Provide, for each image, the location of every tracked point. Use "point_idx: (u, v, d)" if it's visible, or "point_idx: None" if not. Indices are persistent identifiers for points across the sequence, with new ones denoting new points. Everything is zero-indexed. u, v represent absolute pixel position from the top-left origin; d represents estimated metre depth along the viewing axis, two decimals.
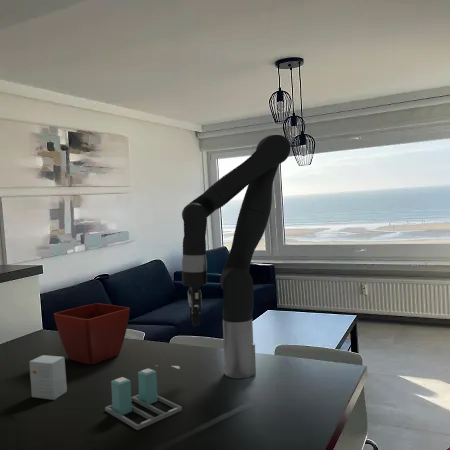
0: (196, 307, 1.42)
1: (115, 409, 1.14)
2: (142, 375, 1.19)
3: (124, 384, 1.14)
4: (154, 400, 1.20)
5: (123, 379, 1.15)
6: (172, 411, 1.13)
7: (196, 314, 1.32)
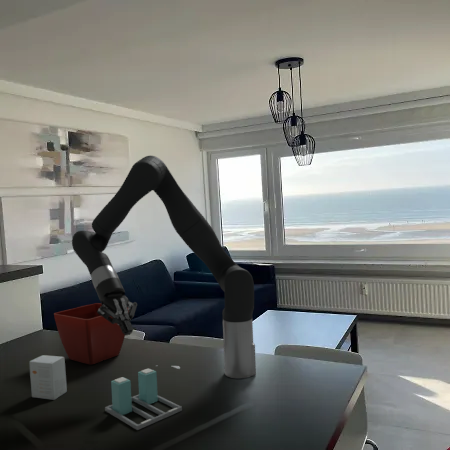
0: None
1: (115, 409, 1.14)
2: (142, 375, 1.19)
3: (124, 384, 1.14)
4: (154, 400, 1.20)
5: (123, 379, 1.15)
6: (172, 411, 1.13)
7: None
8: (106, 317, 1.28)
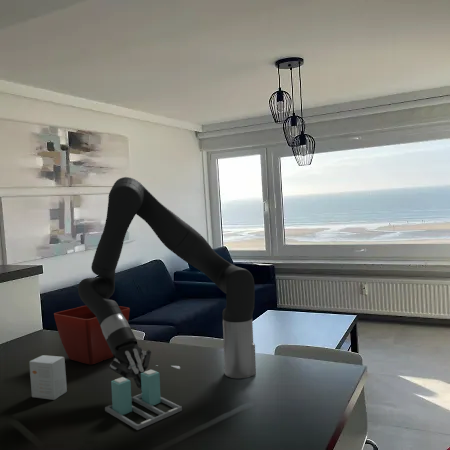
0: None
1: (115, 409, 1.14)
2: (145, 376, 1.18)
3: (124, 384, 1.14)
4: (157, 401, 1.19)
5: (123, 379, 1.15)
6: (172, 411, 1.13)
7: None
8: (119, 372, 1.21)
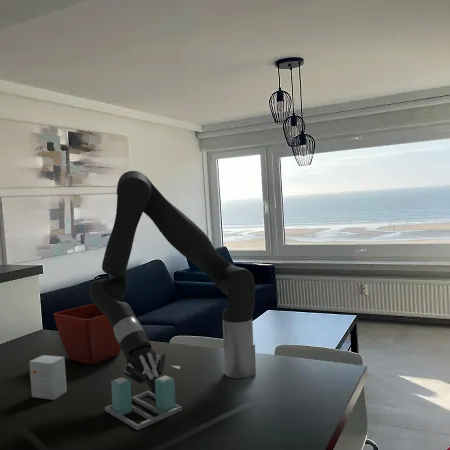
0: None
1: (115, 409, 1.14)
2: (159, 383, 1.14)
3: (124, 384, 1.14)
4: None
5: (123, 379, 1.15)
6: (172, 411, 1.13)
7: None
8: (133, 377, 1.17)
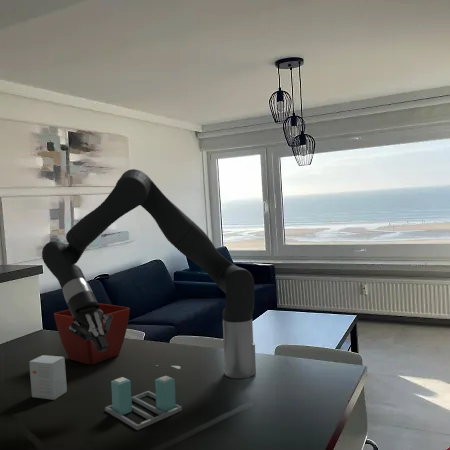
0: None
1: (115, 409, 1.14)
2: (160, 383, 1.13)
3: (124, 384, 1.14)
4: None
5: (123, 379, 1.15)
6: (172, 411, 1.13)
7: None
8: (78, 334, 1.21)
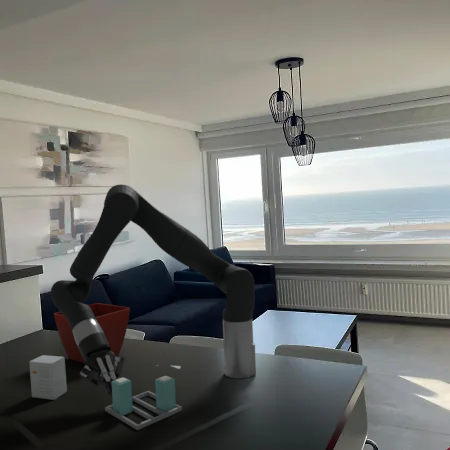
0: None
1: (115, 409, 1.14)
2: (160, 383, 1.13)
3: (125, 384, 1.14)
4: None
5: (123, 379, 1.15)
6: (172, 411, 1.13)
7: None
8: (90, 380, 1.17)
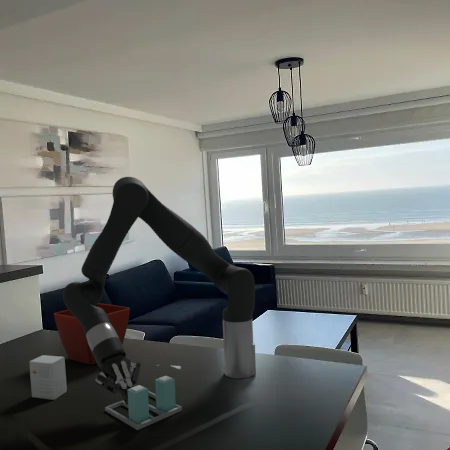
0: None
1: (132, 419, 1.09)
2: (160, 383, 1.13)
3: (141, 393, 1.08)
4: None
5: (140, 387, 1.09)
6: (172, 411, 1.13)
7: None
8: (105, 387, 1.11)
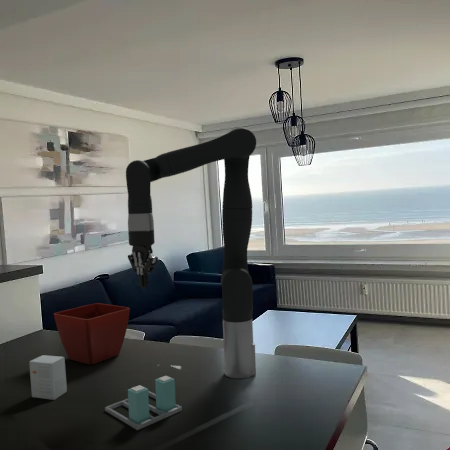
0: (140, 275, 1.34)
1: (132, 419, 1.09)
2: (160, 383, 1.13)
3: (142, 393, 1.08)
4: None
5: (140, 387, 1.09)
6: (172, 411, 1.13)
7: None
8: (149, 267, 1.31)
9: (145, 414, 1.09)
